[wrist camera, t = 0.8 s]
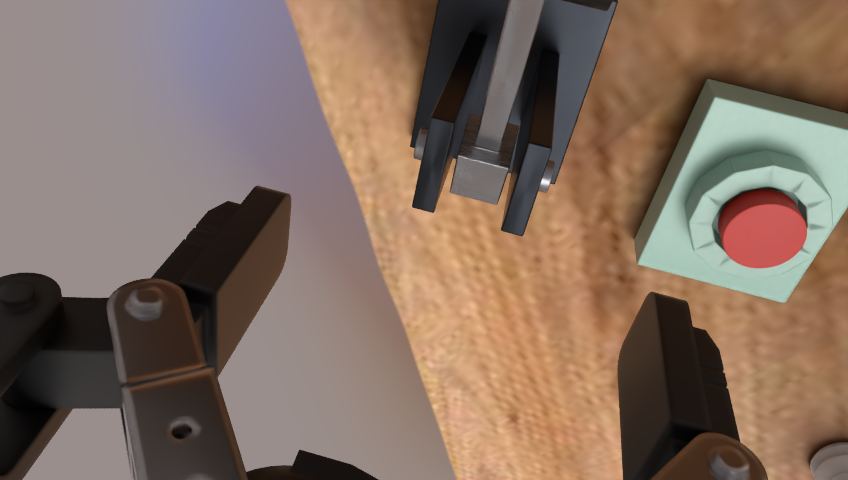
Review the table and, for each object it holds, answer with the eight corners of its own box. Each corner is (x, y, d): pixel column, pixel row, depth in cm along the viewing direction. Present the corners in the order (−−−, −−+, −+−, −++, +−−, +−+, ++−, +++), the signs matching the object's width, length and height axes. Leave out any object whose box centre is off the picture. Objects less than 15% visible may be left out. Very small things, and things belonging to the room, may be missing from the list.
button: (737, 180, 35) (743, 195, 34) (814, 200, 35) (823, 215, 34) (705, 241, 38) (709, 257, 36) (777, 260, 37) (784, 277, 36)
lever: (469, -95, 21) (451, -47, 20) (626, -57, 21) (618, -7, 20) (432, 144, 32) (419, 185, 30) (536, 171, 31) (527, 213, 30)
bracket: (450, -46, 36) (395, 23, 25) (617, -5, 35) (632, 83, 25) (413, 138, 42) (358, 255, 32) (555, 175, 42) (546, 306, 31)
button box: (706, 77, 37) (720, 110, 33) (873, 119, 36) (905, 156, 33) (633, 240, 43) (638, 282, 39) (774, 277, 43) (792, 323, 39)
